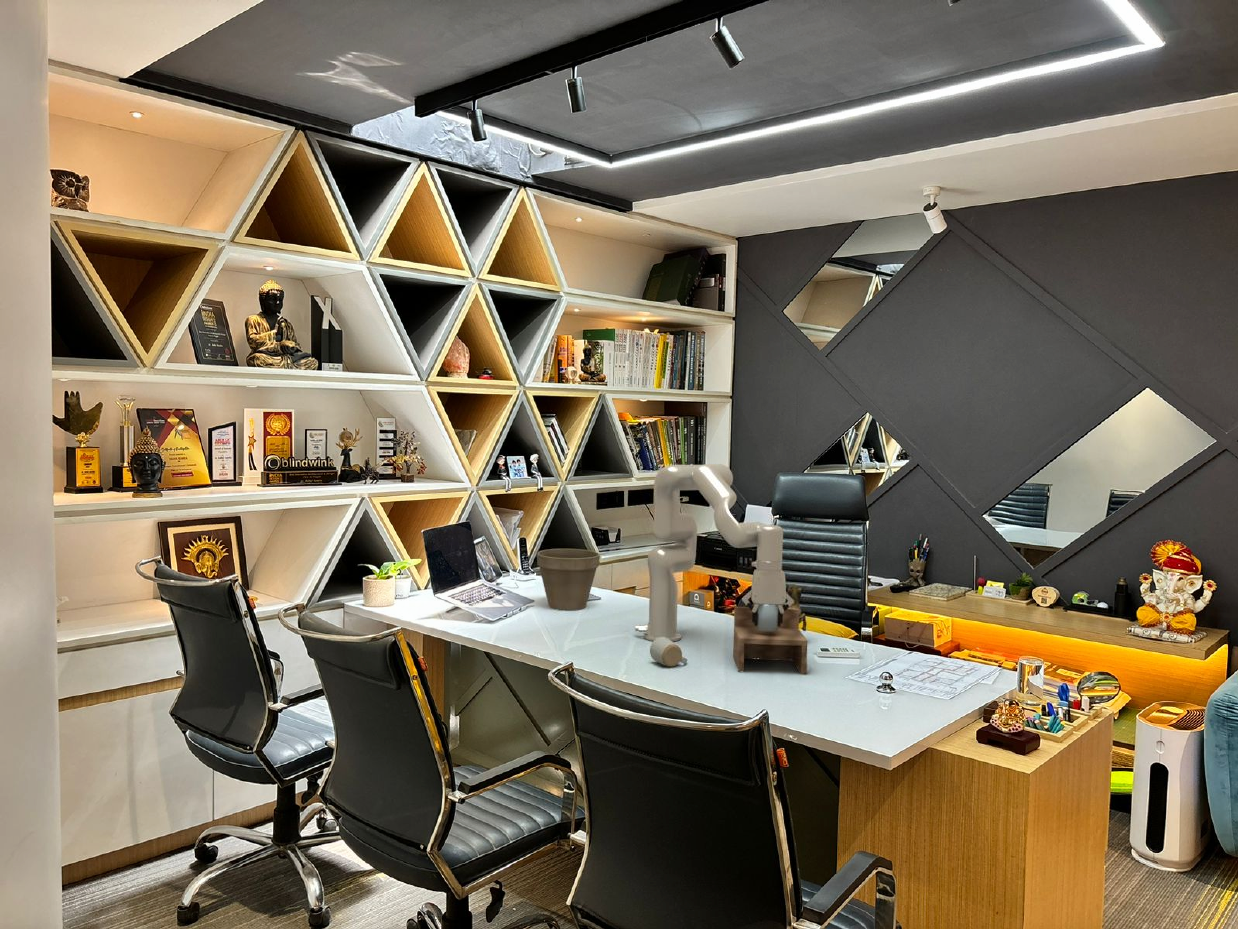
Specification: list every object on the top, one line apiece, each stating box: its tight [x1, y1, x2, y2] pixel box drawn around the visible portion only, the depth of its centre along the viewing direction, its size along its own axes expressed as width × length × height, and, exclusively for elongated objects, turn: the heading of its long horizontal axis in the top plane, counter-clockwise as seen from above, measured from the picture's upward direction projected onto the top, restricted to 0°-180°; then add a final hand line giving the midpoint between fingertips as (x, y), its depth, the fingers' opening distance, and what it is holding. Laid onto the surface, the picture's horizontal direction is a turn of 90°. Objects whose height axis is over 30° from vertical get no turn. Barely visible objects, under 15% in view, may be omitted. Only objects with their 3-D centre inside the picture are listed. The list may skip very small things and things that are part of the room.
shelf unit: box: [732, 606, 808, 675], centre depth 276 cm, size 20×17×16 cm
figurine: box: [786, 584, 807, 632], centre depth 305 cm, size 13×25×20 cm, turn 134°
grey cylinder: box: [756, 604, 778, 631], centre depth 274 cm, size 6×6×8 cm
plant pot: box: [536, 548, 601, 612], centre depth 358 cm, size 25×25×22 cm
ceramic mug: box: [649, 637, 688, 668], centre depth 275 cm, size 11×8×8 cm
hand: (767, 624), depth 274 cm, fingers closed on grey cylinder, 6 cm apart
